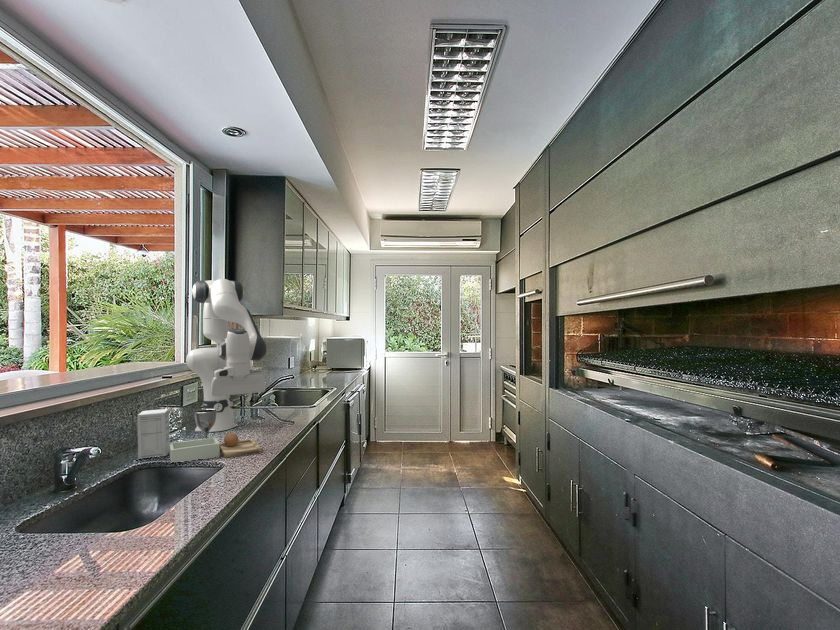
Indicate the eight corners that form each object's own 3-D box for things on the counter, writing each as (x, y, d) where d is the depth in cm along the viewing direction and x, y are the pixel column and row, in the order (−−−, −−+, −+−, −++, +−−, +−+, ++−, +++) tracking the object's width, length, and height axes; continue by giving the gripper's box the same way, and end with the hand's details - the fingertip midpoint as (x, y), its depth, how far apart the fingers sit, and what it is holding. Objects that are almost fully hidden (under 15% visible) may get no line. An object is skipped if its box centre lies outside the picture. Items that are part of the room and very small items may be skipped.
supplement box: (170, 451, 182) (170, 408, 183) (166, 457, 174) (166, 412, 174) (142, 453, 179) (142, 410, 179) (137, 460, 170) (136, 414, 171)
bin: (169, 456, 174) (169, 443, 175) (215, 449, 183) (215, 437, 183) (170, 464, 164) (170, 450, 164) (219, 456, 172) (219, 443, 172)
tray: (218, 447, 186) (218, 443, 186) (252, 442, 192) (252, 439, 192) (224, 458, 170) (224, 454, 170) (261, 452, 177) (261, 448, 177)
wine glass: (190, 449, 184) (190, 411, 184) (208, 444, 191) (207, 408, 191) (203, 451, 180) (203, 413, 180) (221, 446, 187) (220, 409, 187)
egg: (243, 441, 184) (237, 437, 190) (234, 431, 182) (229, 428, 189) (232, 450, 181) (227, 446, 188) (223, 441, 180) (219, 437, 186)
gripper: (264, 368, 190) (264, 401, 190) (209, 371, 180) (210, 407, 179) (267, 369, 185) (267, 403, 184) (211, 372, 174) (212, 409, 174)
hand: (239, 405), depth 182 cm, fingers open, 5 cm apart
